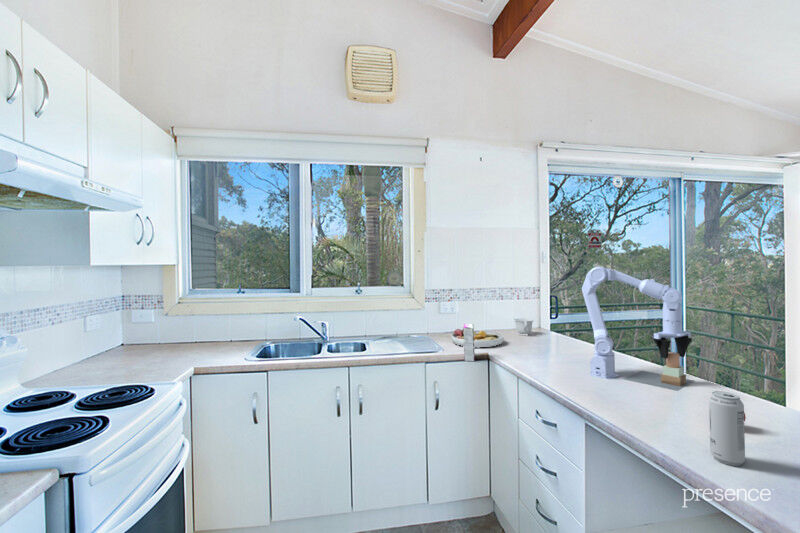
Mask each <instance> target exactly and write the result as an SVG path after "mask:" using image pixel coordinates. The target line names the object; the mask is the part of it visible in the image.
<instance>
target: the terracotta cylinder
mask: <svg viewBox="0 0 800 533" xmlns="http://www.w3.org/2000/svg"><path fill="white" fill-rule="evenodd" d="M680 357H681V356H679V353H677V352H675V351H668V358H667V359H666V358H665V359H666V360H665V362H666V363H665V365H666V366H667V367H670V368H680V366H681V364H680V361H681V360H680Z"/></svg>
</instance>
